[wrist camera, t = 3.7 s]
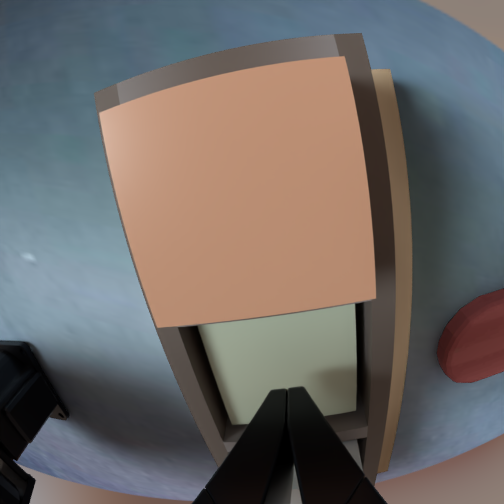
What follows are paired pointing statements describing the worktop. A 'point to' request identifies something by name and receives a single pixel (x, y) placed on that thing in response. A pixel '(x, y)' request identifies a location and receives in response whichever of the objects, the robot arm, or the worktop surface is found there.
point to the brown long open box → (366, 312)
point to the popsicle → (474, 340)
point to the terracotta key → (245, 193)
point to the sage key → (285, 359)
